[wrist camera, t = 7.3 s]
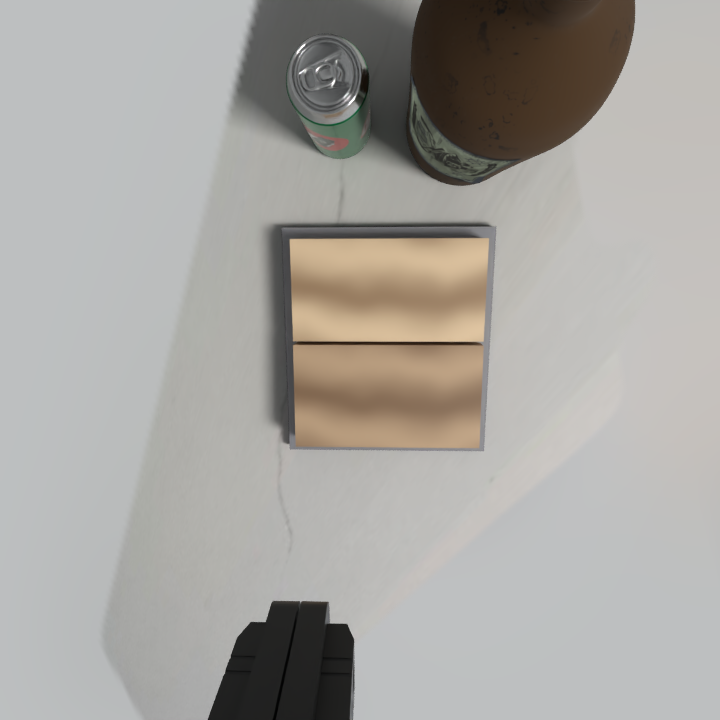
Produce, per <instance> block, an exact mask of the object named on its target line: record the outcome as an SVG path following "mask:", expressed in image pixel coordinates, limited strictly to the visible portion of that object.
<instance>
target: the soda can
mask: <svg viewBox="0 0 720 720" xmlns="http://www.w3.org/2000/svg"><path fill="white" fill-rule="evenodd" d="M286 87H287V92H288V96H289V98H290V101H291V103H292V105H293V107H294V108H295V110H296V112H297V114H298V116H299V117H300V119H301V121H302V123H303V125H304V127H305V128H306V130H307V132H308V134H309V136H310V137H311V139H312V141H313V143H314V145H315V146H316V147H317V149H318V150H319V151H320V152H322V153H323V154H325V155H326V156H328V157H331V158H335V159H345V158H349V157H351V156H354V155H355V154H357V153H358V152H359V151H360V150H361V149H362V148H363V147H364V146H365V144H366V143H367V141H368V138H369V135H370V130H371V116H370V89H369V73H368V68H367V65H366V61H365V59H364V57H363V55H362V54H361V53H360V51H359V50H358V49H357V48H356V47H355V45H354V44H352V43H351V42H350V41H348V40H346V39H344V38H343V37H340V36H337V35H333V34H318V35H315V36H312V37H310V38H308V39H307V40H305V41H304V42H303V43H302V44H301V45H300V46H299V47H298V48H297V50H296V51H295V52H294V54H293V56H292V57H291V59H290V62H289V64H288V68H287V73H286Z"/></svg>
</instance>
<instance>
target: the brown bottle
mask: <svg viewBox="0 0 720 720" xmlns="http://www.w3.org/2000/svg"><path fill="white" fill-rule="evenodd" d="M634 23H635V0H422V3H421V5H420V8H419V11H418V15H417V18H416V22H415V27H414V33H413V40H412V53H411V77H410V92H409V104H408V112H407V121H406V132H407V139H408V143H409V147H410V150H411V152H412V154H413V156H414V158H415V160H416V161H417V163H418V164H419V165H420V167H421V168H422V169H423V170H424V171H425V172H426V173H427V174H429V175H430V176H431V177H433V178H435V179H436V180H438V181H441V182H443V183H446V184H450V185H458V186H464V185H472V184H476V183H480V182H482V181H484V180H487V179H489V178H490V177H492V176H494V175H496V174H498V173H500V172H501V171H503V170H506V169H508V168H510V167H512V166H514V165H516V164H518V163H521V162H523V161H525V160H528V159H530V158H532V157H535V156H537V155H539V154H541V153H544V152H546V151H548V150H550V149H552V148H554V147H556V146H558V145H560V144H561V143H563V142H564V141H566V140H567V139H569V138H570V137H572V136H573V135H574V134H575V133H577V132H578V131H579V130H580V129H581V128H582V127H584V126H585V125H586V124H587V123H588V122H589V121H590V120H591V118H592V117H593V116H594V115H595V114H596V113H597V111H598V110H599V109H600V108H601V106H602V105H603V103H604V102H605V101H606V99H607V98H608V96H609V94H610V93H611V91H612V89H613V87H614V85H615V84H616V81H617V79H618V78H619V75H620V73H621V71H622V69H623V66H624V64H625V61H626V59H627V56H628V53H629V49H630V45H631V41H632V36H633V31H634Z"/></svg>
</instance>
